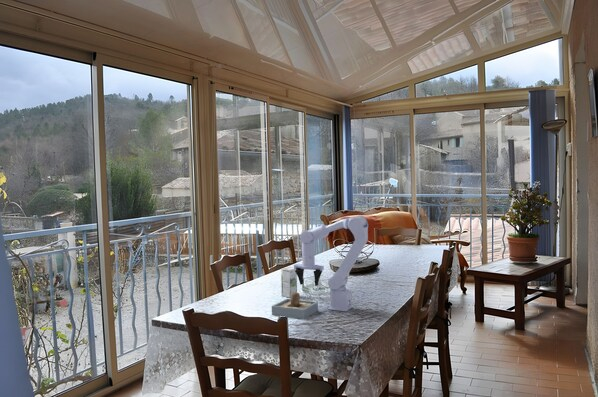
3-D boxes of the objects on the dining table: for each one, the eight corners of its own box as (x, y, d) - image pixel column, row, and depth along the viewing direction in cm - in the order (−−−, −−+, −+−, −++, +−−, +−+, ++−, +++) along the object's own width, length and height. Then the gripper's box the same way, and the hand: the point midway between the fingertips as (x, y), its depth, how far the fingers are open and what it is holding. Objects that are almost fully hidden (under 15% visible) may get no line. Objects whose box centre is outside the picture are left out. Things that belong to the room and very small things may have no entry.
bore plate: (311, 309, 225) (311, 303, 225) (300, 316, 215) (300, 309, 215) (290, 307, 230) (290, 301, 230) (278, 313, 220) (278, 307, 220)
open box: (318, 310, 225) (317, 301, 225) (304, 319, 213) (304, 309, 213) (287, 307, 232) (286, 298, 232) (271, 314, 220) (271, 305, 220)
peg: (300, 310, 224) (300, 292, 224) (298, 312, 220) (298, 294, 220) (292, 310, 225) (291, 292, 225) (289, 312, 221) (289, 294, 221)
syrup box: (288, 294, 258) (288, 266, 257) (297, 295, 254) (296, 267, 253) (281, 296, 253) (280, 268, 252) (290, 298, 249) (289, 269, 249)
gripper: (326, 255, 233) (326, 284, 234) (298, 253, 240) (298, 281, 240) (320, 257, 227) (320, 287, 228) (291, 256, 233) (292, 285, 234)
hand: (309, 284), depth 234 cm, fingers open, 7 cm apart
